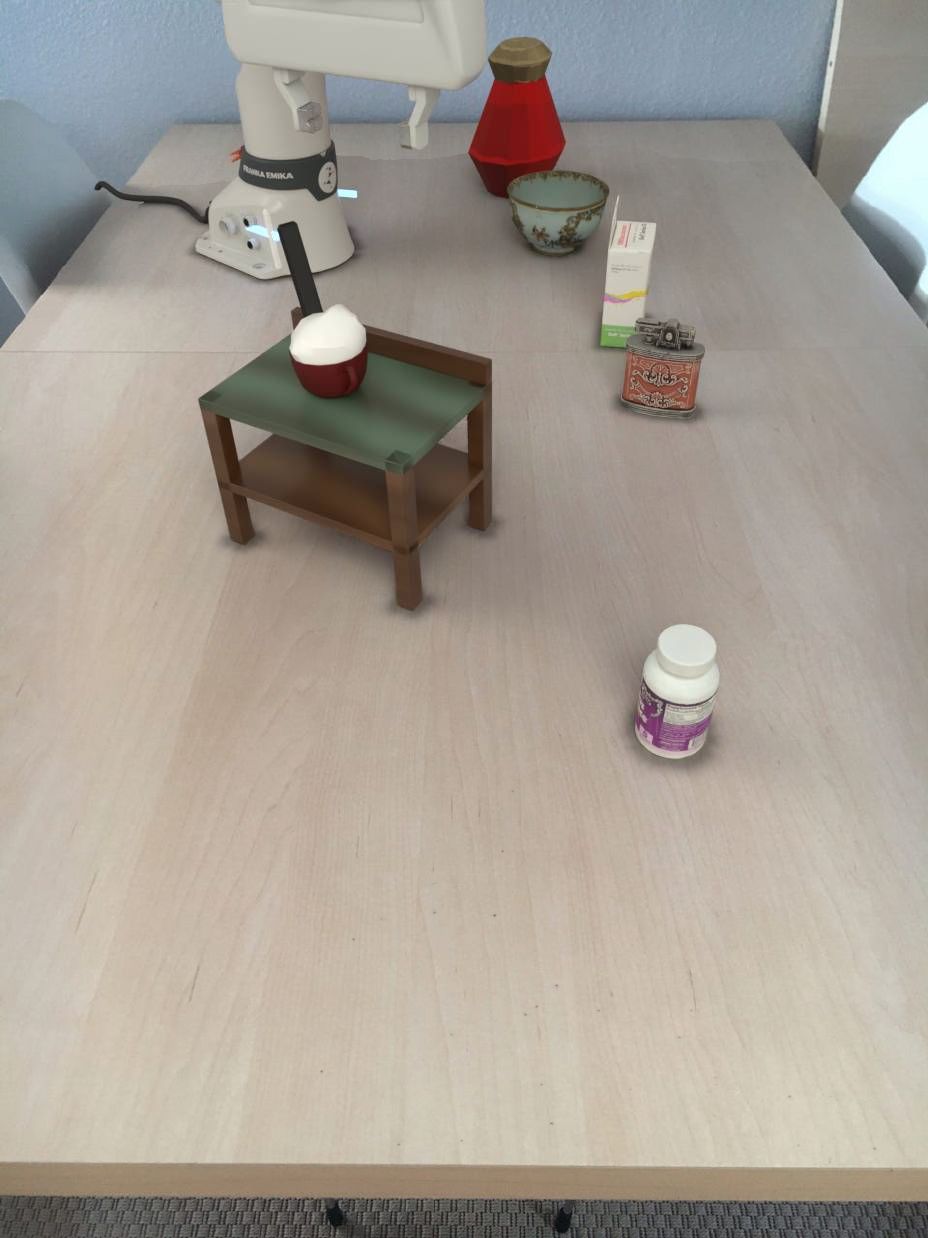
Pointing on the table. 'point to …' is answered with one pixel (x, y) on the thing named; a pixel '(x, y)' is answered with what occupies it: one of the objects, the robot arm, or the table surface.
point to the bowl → (557, 209)
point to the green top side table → (359, 446)
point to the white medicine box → (626, 279)
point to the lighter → (662, 369)
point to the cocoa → (322, 331)
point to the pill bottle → (678, 692)
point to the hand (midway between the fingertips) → (360, 138)
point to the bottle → (517, 117)
